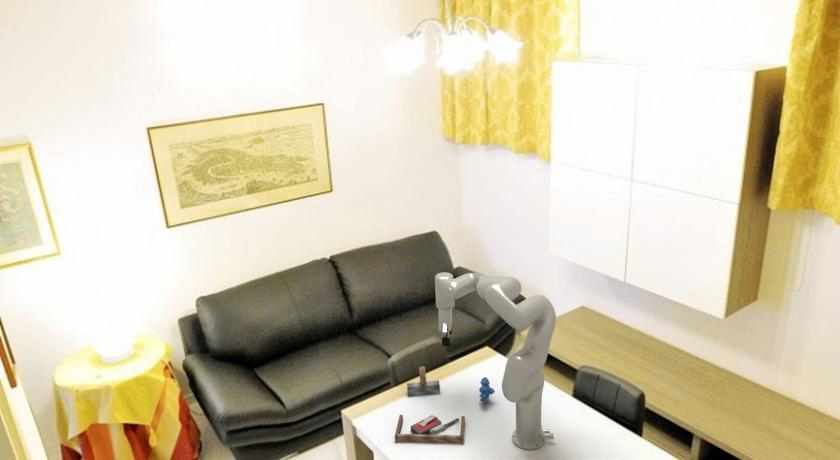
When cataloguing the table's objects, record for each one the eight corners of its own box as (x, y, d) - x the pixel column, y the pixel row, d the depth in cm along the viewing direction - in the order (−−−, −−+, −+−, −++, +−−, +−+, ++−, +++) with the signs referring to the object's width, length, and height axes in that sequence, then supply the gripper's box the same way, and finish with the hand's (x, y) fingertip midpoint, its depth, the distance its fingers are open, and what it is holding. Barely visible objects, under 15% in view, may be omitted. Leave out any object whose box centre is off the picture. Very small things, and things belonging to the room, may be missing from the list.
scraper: (439, 390, 270) (437, 364, 265) (440, 394, 267) (438, 368, 262) (407, 393, 269) (405, 367, 265) (408, 397, 266) (406, 371, 262)
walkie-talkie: (420, 444, 237) (460, 423, 248) (419, 434, 235) (459, 413, 246) (407, 433, 244) (446, 412, 254) (406, 423, 242) (446, 403, 253)
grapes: (493, 411, 253) (493, 386, 249) (477, 410, 254) (476, 385, 250) (496, 395, 263) (496, 371, 259) (481, 394, 265) (480, 370, 261)
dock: (464, 422, 247) (464, 416, 246) (463, 444, 235) (463, 438, 234) (400, 420, 251) (399, 414, 250) (395, 442, 238) (394, 436, 237)
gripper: (437, 293, 257) (439, 329, 263) (434, 312, 241) (436, 350, 247) (455, 293, 256) (457, 329, 262) (453, 312, 240) (454, 350, 246)
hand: (447, 339), depth 254 cm, fingers open, 9 cm apart
